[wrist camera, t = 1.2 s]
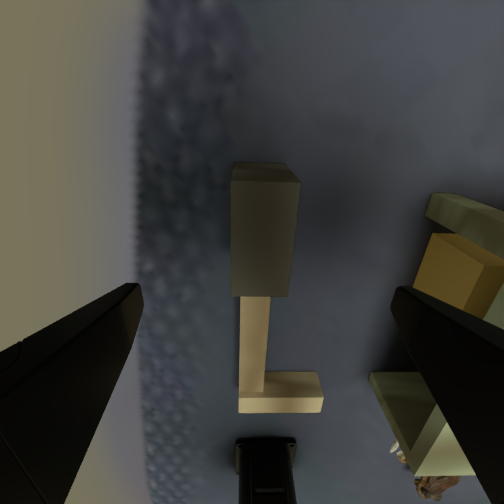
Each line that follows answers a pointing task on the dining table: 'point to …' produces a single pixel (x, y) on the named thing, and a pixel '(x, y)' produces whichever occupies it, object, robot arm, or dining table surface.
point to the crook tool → (265, 283)
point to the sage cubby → (411, 383)
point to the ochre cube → (460, 273)
